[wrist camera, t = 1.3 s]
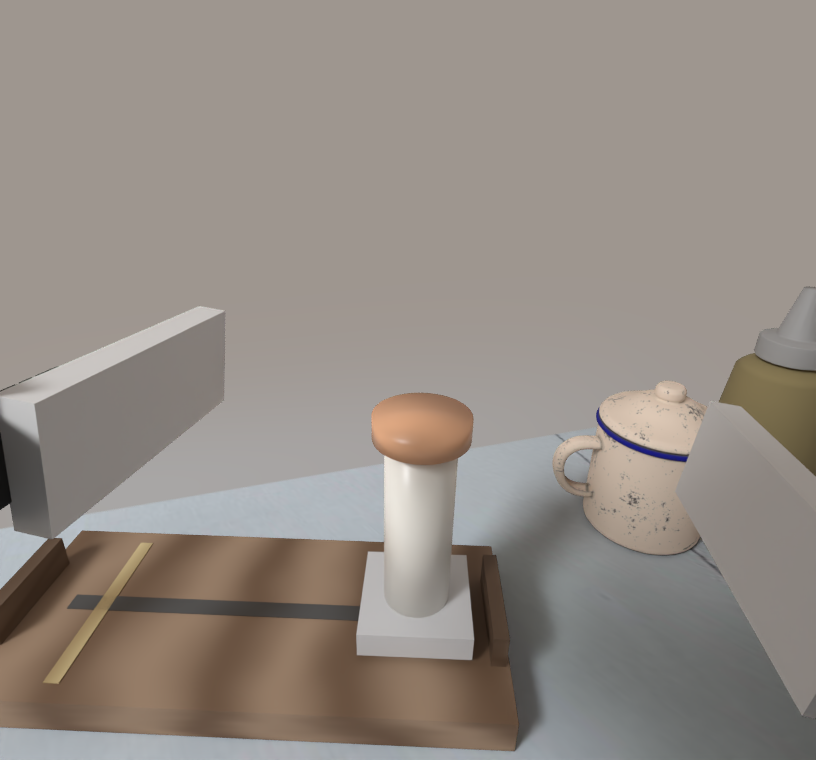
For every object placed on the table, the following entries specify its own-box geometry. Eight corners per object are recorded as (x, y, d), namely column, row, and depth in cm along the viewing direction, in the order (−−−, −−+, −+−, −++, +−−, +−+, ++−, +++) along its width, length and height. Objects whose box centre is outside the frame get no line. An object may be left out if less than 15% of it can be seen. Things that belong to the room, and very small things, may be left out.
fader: (464, 573, 33) (480, 389, 28) (472, 660, 28) (493, 451, 22) (368, 570, 33) (365, 386, 28) (356, 655, 28) (350, 446, 23)
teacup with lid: (669, 485, 46) (703, 361, 41) (727, 561, 38) (778, 417, 33) (532, 483, 46) (549, 358, 41) (560, 559, 38) (586, 414, 33)
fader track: (488, 569, 37) (493, 522, 35) (514, 751, 26) (523, 696, 24) (88, 553, 37) (75, 507, 36) (-51, 724, 27) (-80, 669, 25)
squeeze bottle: (679, 466, 49) (733, 271, 41) (778, 480, 47) (852, 279, 40) (700, 522, 42) (769, 298, 34) (817, 541, 40) (917, 310, 33)
